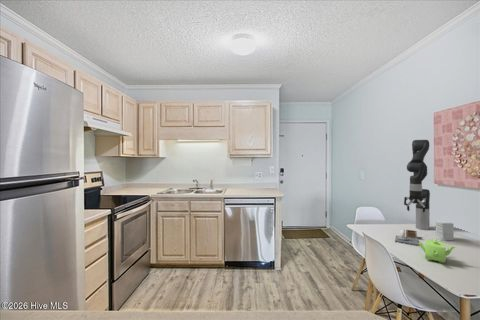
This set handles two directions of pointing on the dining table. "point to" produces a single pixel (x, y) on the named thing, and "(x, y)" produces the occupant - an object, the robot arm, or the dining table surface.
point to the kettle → (435, 250)
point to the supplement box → (444, 230)
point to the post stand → (406, 239)
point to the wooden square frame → (411, 234)
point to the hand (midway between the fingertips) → (415, 211)
